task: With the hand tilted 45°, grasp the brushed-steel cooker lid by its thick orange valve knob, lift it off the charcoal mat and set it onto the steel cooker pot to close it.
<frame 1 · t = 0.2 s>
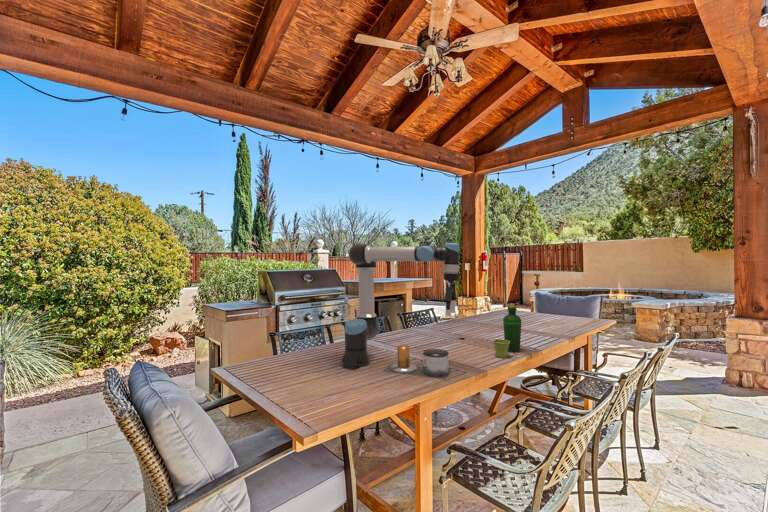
hand: (450, 314, 179), 28 cm above the table, tool pointing down, fingers open, 13 cm apart
plant pot: (501, 356, 199), on the table
bottle: (512, 350, 210), on the table
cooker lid: (403, 368, 174), point 1 cm above the table, touching stove mat
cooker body: (435, 373, 168), resting on stove mat
stove mat: (416, 372, 172), on the table
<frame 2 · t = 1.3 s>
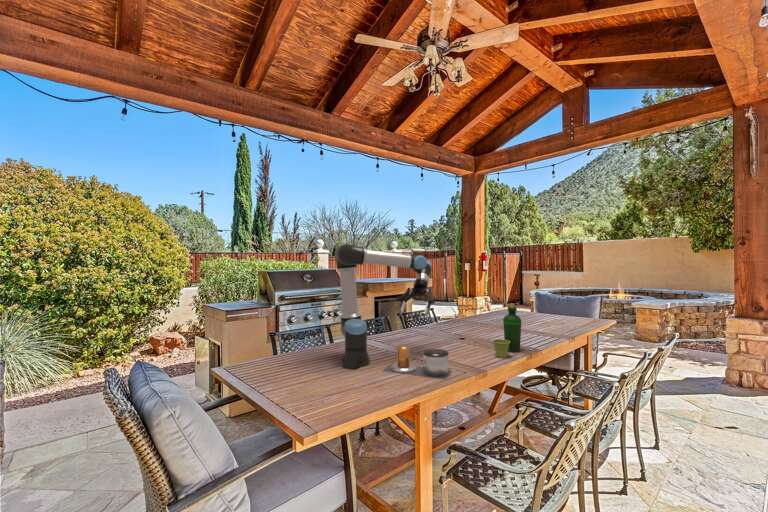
hand: (413, 312, 189), 27 cm above the table, tool tilted 45°, fingers open, 13 cm apart
nothing on the table moved.
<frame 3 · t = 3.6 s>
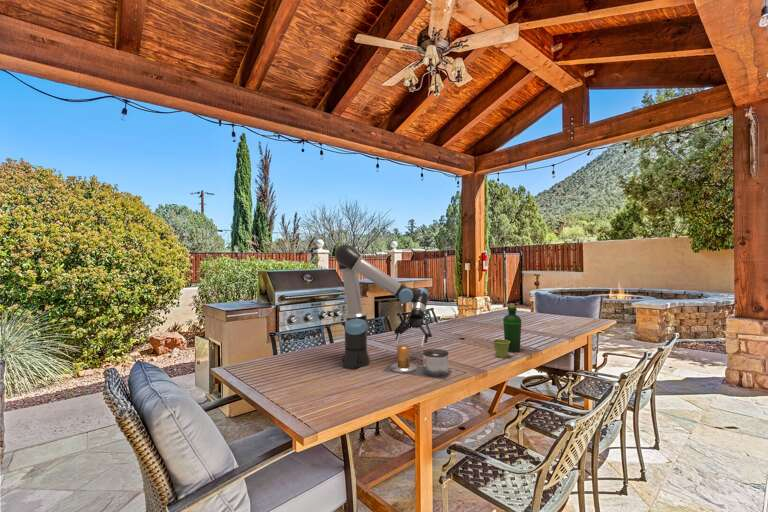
hand: (409, 346, 178), 11 cm above the table, tool tilted 45°, fingers open, 13 cm apart
nothing on the table moved.
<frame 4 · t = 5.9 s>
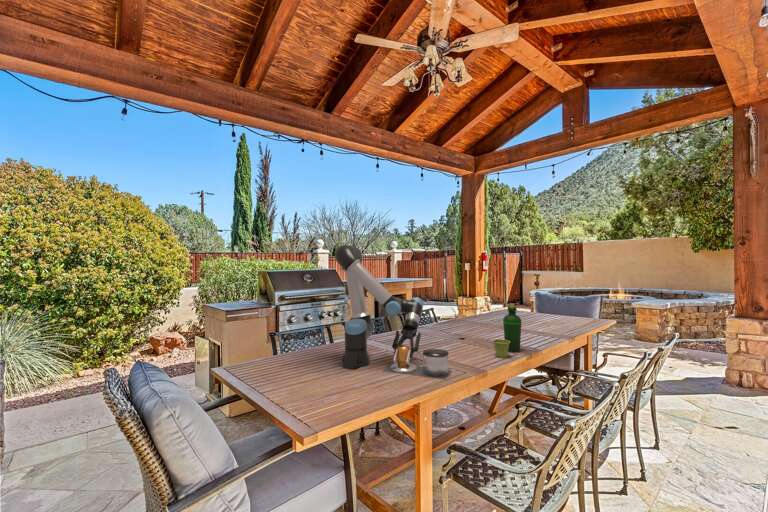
hand: (401, 362, 171), 5 cm above the table, tool tilted 45°, fingers closed on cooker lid, 6 cm apart
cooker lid: (403, 368, 174), point 1 cm above the table, touching gripper, stove mat
everything else where it was.
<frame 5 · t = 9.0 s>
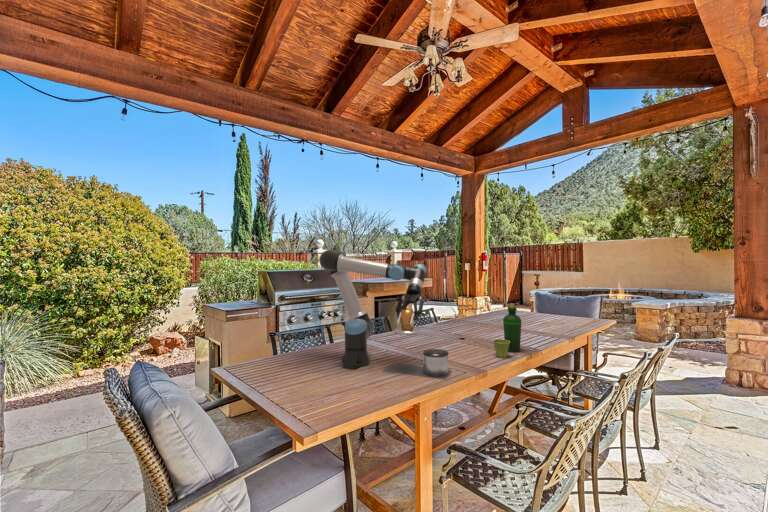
hand: (404, 324, 171), 24 cm above the table, tool tilted 45°, fingers closed on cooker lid, 6 cm apart
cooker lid: (407, 332, 174), point 20 cm above the table, touching gripper
everything else where it was.
when the fingers open (17 cm above the table, at t = 12.1 s): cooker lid drops 1 cm, resting on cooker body.
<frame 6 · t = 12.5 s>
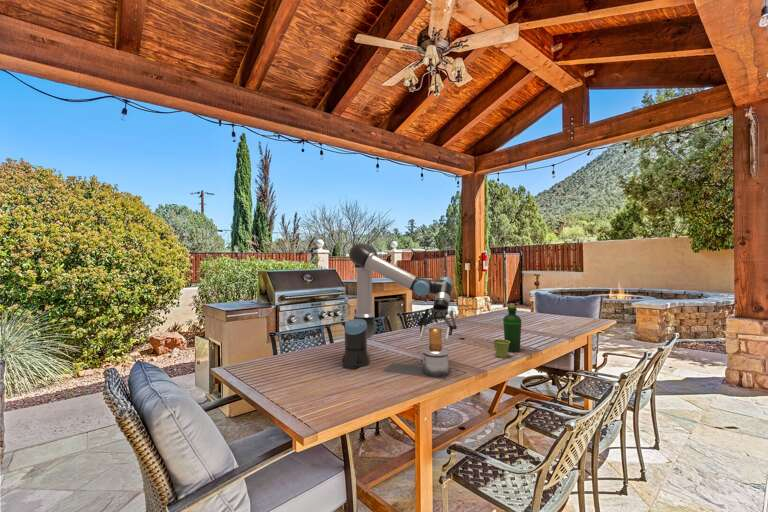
hand: (433, 339, 166), 18 cm above the table, tool tilted 45°, fingers open, 12 cm apart
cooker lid: (435, 352, 168), point 11 cm above the table, touching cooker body
everything else where it was.
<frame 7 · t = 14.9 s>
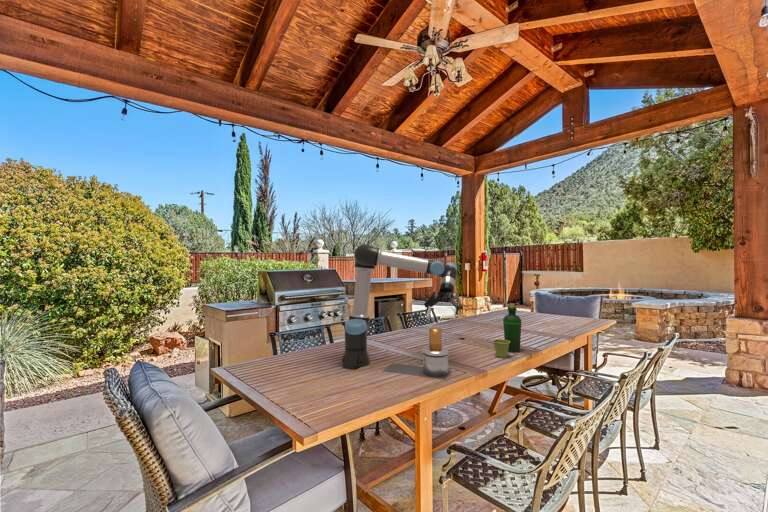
hand: (440, 318, 178), 26 cm above the table, tool tilted 45°, fingers open, 13 cm apart
nothing on the table moved.
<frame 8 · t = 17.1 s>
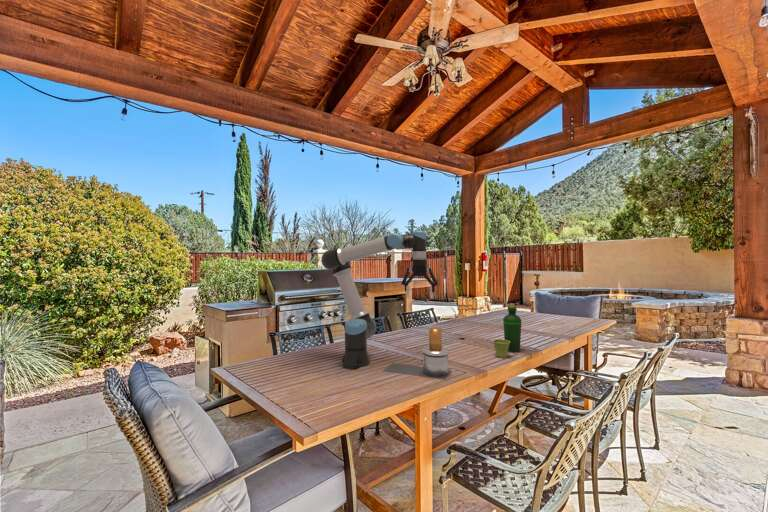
hand: (419, 298, 190), 35 cm above the table, tool pointing down, fingers open, 13 cm apart
nothing on the table moved.
at the end: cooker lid 0.0 cm off-centre on the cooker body, point 10.0 cm above the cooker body's base; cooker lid tilted 0°; the gripper is holding nothing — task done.
